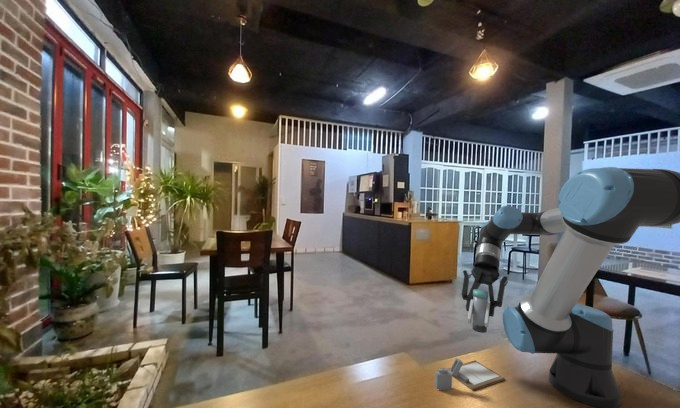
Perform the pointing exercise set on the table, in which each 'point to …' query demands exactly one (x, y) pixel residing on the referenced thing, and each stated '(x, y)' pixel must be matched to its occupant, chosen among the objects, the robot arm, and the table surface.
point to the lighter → (447, 375)
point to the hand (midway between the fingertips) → (477, 322)
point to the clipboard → (476, 375)
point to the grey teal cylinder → (479, 310)
